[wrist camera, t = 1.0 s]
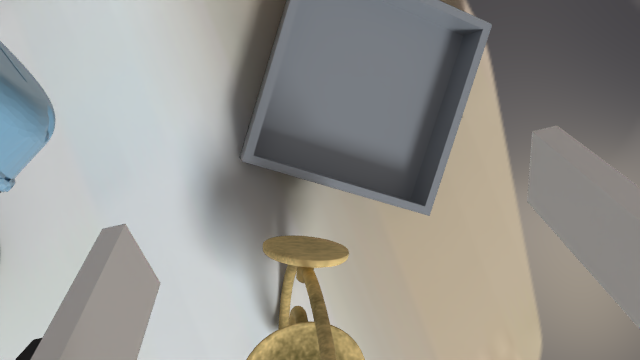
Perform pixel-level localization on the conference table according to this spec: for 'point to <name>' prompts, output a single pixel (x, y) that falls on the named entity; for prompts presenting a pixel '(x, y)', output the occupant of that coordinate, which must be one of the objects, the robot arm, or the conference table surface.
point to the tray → (366, 96)
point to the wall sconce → (295, 331)
